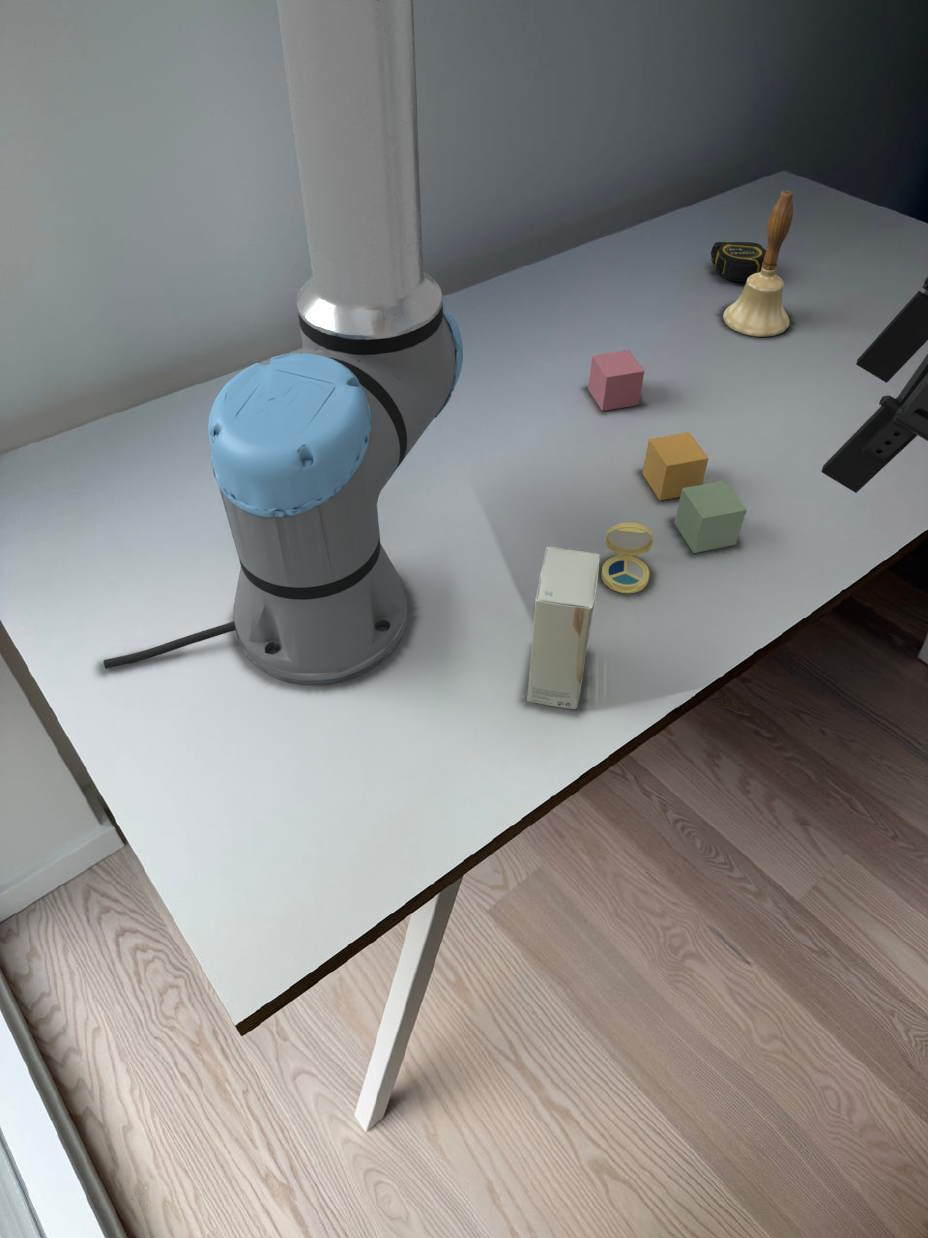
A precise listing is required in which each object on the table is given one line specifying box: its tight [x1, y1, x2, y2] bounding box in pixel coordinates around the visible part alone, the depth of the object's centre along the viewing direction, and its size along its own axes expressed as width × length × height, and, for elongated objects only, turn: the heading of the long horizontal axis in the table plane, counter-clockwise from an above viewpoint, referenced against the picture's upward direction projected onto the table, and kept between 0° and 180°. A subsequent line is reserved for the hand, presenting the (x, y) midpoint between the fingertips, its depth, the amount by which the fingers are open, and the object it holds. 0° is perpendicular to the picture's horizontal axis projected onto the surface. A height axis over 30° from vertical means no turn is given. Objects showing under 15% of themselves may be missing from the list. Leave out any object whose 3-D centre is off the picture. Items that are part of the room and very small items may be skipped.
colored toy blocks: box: [587, 349, 747, 554], centre depth 94 cm, size 4×28×4 cm, turn 16°
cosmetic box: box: [526, 545, 601, 710], centre depth 71 cm, size 6×4×12 cm
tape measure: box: [710, 241, 767, 283], centre depth 121 cm, size 7×7×4 cm
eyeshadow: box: [600, 521, 654, 594], centre depth 82 cm, size 4×5×5 cm
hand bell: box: [722, 190, 794, 338], centre depth 108 cm, size 8×8×16 cm
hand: (856, 422), depth 63 cm, fingers open, 13 cm apart
